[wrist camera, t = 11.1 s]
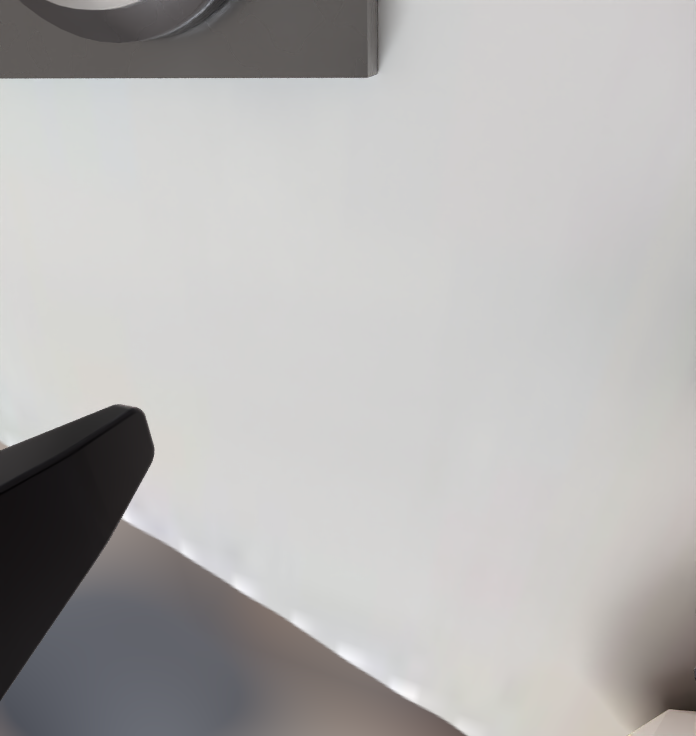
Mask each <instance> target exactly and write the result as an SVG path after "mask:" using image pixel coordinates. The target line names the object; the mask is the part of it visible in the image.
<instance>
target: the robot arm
mask: <svg viewBox="0 0 696 736" xmlns="http://www.w3.org/2000/svg"><path fill="white" fill-rule="evenodd" d="M153 457H154V444H153V441H152V437H151V434H150V430H149V427H148V423H147V420H146V416H145V414H144V412H143V411H142V410H141V409H139V408H137V407H132V406H127V405H121V404H117V405H112V406H110V407H107V408H105V409H102V410H100V411H97V412H95V413H92V414H90V415H87V416H85V417H82V418H80V419H78V420H75V421H73V422H70V423H68V424H65V425H63V426H60V427H58V428H55V429H53V430H50V431H48V432H45V433H43V434H40V435H38V436H35V437H33V438H30V439H28V440H25V441H23V442H20V443H18V444H15V445H13V446H10V447H8V448H5V449H3V450H0V701H1V699H2V698H3V696H4V695H5V693H6V692H7V690H8V689H9V688H10V686H11V684H12V683H13V682H14V680H15V679H16V677H17V676H18V674H19V673H20V671H21V670H22V668H23V667H24V665H25V664H26V663H27V661H28V659H29V658H30V657H31V655H32V654H33V652H34V651H35V649H36V648H37V646H38V645H39V643H40V642H41V641H42V639H43V638H44V636H45V635H46V633H47V632H48V630H49V629H50V627H51V626H52V624H53V623H54V621H55V620H56V618H57V617H58V616H59V614H60V612H61V611H62V609H63V608H64V607H65V605H66V604H67V602H68V601H69V599H70V598H71V596H72V595H73V594H74V592H75V590H76V589H77V588H78V586H79V585H80V583H81V582H82V580H83V579H84V577H85V576H86V574H87V573H88V572H89V570H90V568H91V567H92V566H93V564H94V563H95V561H96V560H97V558H98V557H99V555H100V554H101V552H102V551H103V549H104V547H105V546H106V544H107V543H108V541H109V539H110V538H111V536H112V534H113V532H114V531H115V529H116V527H117V525H118V523H119V522H120V520H121V518H122V516H123V514H124V513H125V511H126V509H127V507H128V505H129V503H130V502H131V500H132V498H133V496H134V494H135V492H136V491H137V489H138V487H139V485H140V483H141V482H142V480H143V478H144V476H145V474H146V472H147V471H148V469H149V467H150V465H151V463H152V461H153ZM694 675H695V680H696V667H695V669H694Z"/></svg>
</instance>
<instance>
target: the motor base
mask: <svg viewBox="0 0 696 736" xmlns="http://www.w3.org/2000/svg"><path fill="white" fill-rule="evenodd" d="M376 74H378V48H377V0H0V78H368V77H371V76H373V75H376Z"/></svg>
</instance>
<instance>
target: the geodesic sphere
mask: <svg viewBox="0 0 696 736" xmlns="http://www.w3.org/2000/svg"><path fill="white" fill-rule="evenodd" d="M627 736H696V711H684V710H672V709H668V710H667V711H665V712H664V713H662V714H660V715H659V716H657V717H656V718H654V719H652V720H651V721H649V722H648V723H646V724H645V725H643V726H641V727H640V728H638V729H637V730H635V731H633V732H632V733H630V734H629V735H627Z"/></svg>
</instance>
